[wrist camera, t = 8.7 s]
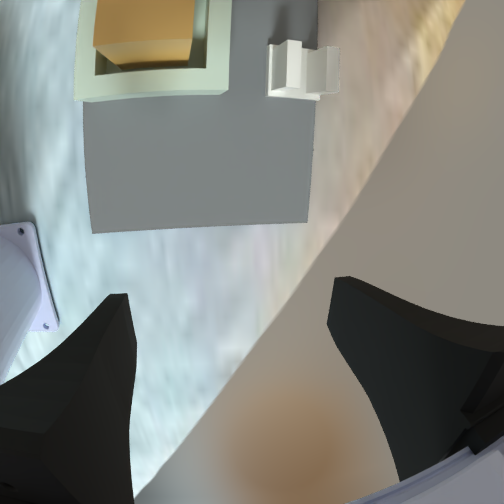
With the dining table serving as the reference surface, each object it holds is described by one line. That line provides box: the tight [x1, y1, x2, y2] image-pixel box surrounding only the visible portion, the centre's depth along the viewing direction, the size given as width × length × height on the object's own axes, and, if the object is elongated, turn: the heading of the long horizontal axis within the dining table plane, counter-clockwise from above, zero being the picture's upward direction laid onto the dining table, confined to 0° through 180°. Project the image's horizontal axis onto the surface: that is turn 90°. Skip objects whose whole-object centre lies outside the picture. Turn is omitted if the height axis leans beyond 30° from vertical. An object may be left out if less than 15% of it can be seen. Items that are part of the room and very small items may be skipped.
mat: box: [83, 0, 318, 234], centre depth 15 cm, size 13×18×1 cm
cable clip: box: [265, 40, 340, 101], centre depth 15 cm, size 3×3×3 cm
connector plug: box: [93, 0, 195, 70], centre depth 10 cm, size 3×3×6 cm
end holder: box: [74, 0, 232, 103], centre depth 12 cm, size 7×7×3 cm
